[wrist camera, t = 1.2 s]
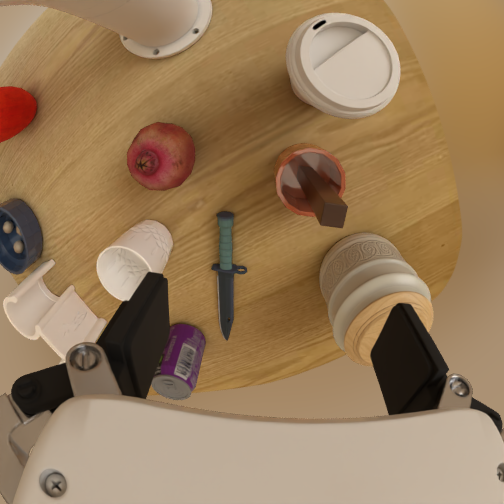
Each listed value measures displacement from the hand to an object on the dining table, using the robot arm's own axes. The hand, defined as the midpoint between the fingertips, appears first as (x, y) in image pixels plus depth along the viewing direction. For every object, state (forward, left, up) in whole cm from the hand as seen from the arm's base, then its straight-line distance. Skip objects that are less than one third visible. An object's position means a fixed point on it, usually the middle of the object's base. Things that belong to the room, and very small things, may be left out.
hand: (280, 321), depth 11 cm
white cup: (+11, -16, -27) cm, 33 cm away
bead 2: (+14, -45, -26) cm, 53 cm away
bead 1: (+11, -47, -25) cm, 54 cm away
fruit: (-2, -13, -27) cm, 30 cm away
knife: (+17, -4, -27) cm, 32 cm away
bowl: (+12, -45, -27) cm, 54 cm away
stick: (-1, +4, -27) cm, 27 cm away
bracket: (+29, -33, -27) cm, 52 cm away
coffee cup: (-13, +4, -27) cm, 31 cm away
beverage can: (+29, -11, -27) cm, 41 cm away
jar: (+12, +15, -27) cm, 34 cm away
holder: (-1, +4, -27) cm, 28 cm away
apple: (-10, -40, -27) cm, 49 cm away
